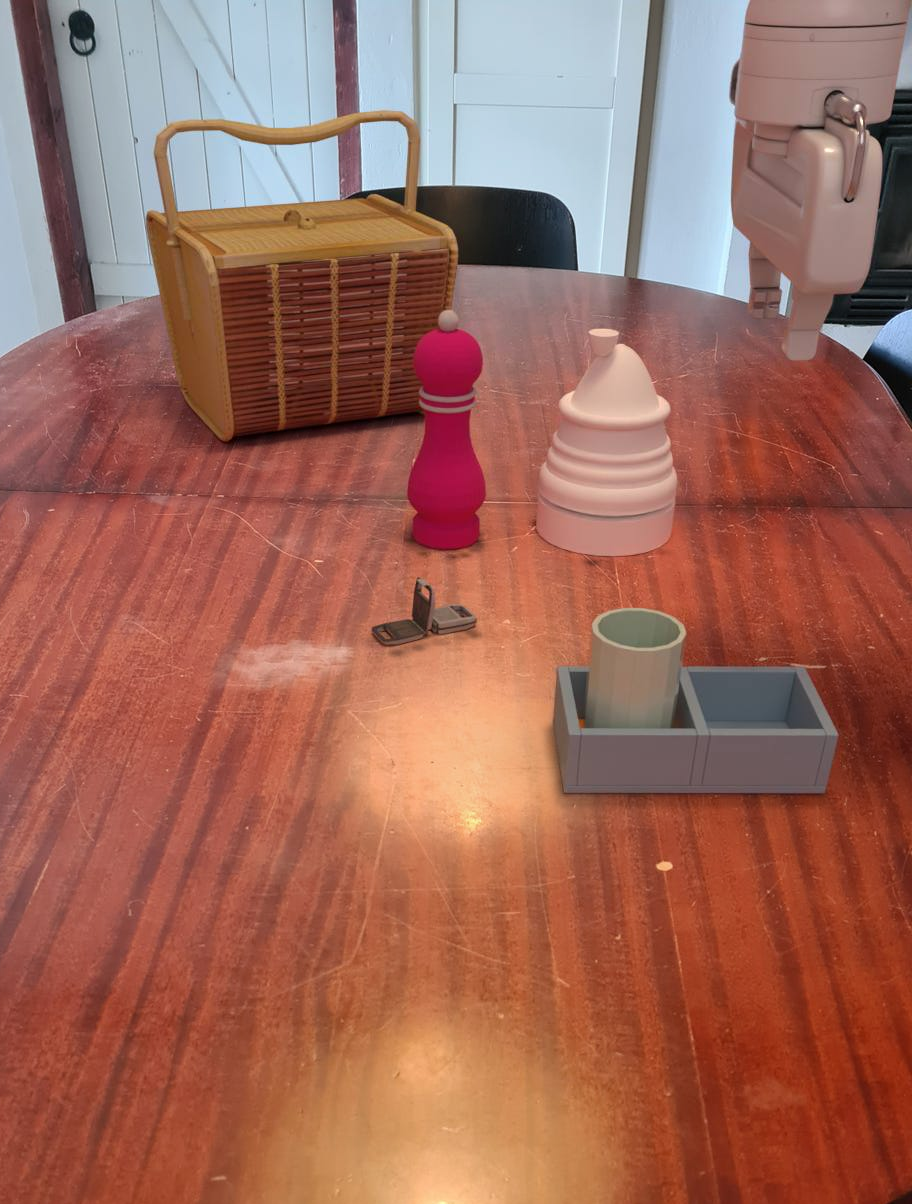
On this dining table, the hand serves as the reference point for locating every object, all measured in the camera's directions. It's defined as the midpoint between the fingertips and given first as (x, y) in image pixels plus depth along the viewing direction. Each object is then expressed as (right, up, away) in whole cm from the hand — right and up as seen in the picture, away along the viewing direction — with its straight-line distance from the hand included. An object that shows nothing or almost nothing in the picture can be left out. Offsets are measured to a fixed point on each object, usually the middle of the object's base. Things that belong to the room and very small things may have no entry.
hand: (779, 336), depth 79 cm
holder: (-5, -26, +6) cm, 28 cm away
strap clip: (-23, -15, +22) cm, 35 cm away
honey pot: (-6, -2, +38) cm, 39 cm away
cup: (-9, -26, +6) cm, 28 cm away
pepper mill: (-21, -4, +37) cm, 42 cm away
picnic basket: (-37, +19, +66) cm, 78 cm away
